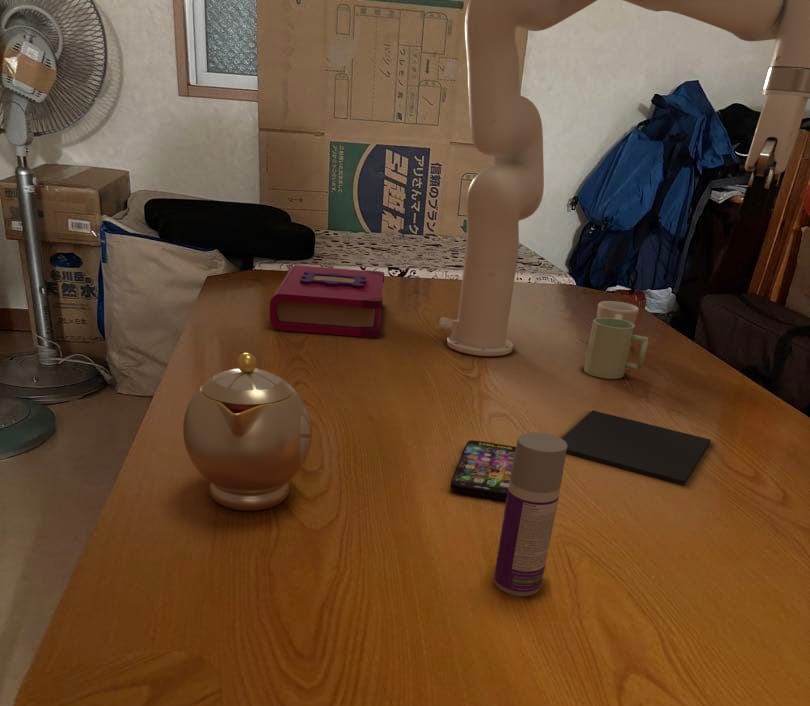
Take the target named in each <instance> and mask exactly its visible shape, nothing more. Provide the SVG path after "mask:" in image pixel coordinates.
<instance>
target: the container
mask: <svg viewBox="0 0 810 706" xmlns="http://www.w3.org/2000/svg"><path fill="white" fill-rule="evenodd" d="M561 438H562V437H561ZM561 438H560V437H559V436H556V435H554V434H551V433H545V432H537V431H535V432H532V431H531V432H526V433H522V434H520V435H519V436H518V437H517V440H516V445H515V447H516V450H515V455H514V460H513V466H512V471H511V476H510V481H509V486H508V492H507V498H506V500H505V506H504V512H503V518H502V524H501V531H500V535H499V543H498V549H497V554H496V555H497V556H496V562H495V568H494V575H493V584H494V585H495V587H496V588H497V589H499V590H500V591H502V592H504V593H506V594H508V595H512V596H516V597H529V596H533V595H536V594H537V593H538V592H539V591H540V590H541V587H542V583H543V578H544V573H545V569H546V563H547V558H548V554H549V549H550V543H551V538H552V533H553V529H554V524H555V519H556V514H557V508H558V503H559V497H560V493H561V487H562V481H563V475H564V470H565V469H564V468H565V463H566V457H567V453H566V451H567V443H566V442H565V441H564V440H563V439H561Z"/></svg>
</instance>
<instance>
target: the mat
mask: <svg viewBox="0 0 810 706" xmlns="http://www.w3.org/2000/svg"><path fill="white" fill-rule="evenodd" d="M561 439H563V440H564V441H565V442H566V443H567V451H566V454H568V455H570V456H575V457H578V458H582V459H586V460H588V461H589V460H590V461H594V462H598V463H601V464H605V465H609V466H612V467H615V468H619V469H622V470H626V471H630V472H633V473H638V474H641V475H645V476H648V477H652V478H655V479H659V480H663V481H667V482H670V483H674V484H677V485H681V486H685V485H686V483H687V482H688V480H689V478H690V477H691V475H692V473H693V472H694V470H695V468H696V467H697V465H698V463H699V461H700V460H701V458H702V457H703V455H704V454H705V452H706V451H707V448H708V446H709V445H710V444H711V441H712V440H711V439H710V438H706V437H702V436H698V435H694V434H690V433H686V432H682V431H678V430H675V429H670V428H665V427H661V426H657V425H653V424H650V423H647V422H646V423H645V422H641V421H638V420H633V419H630V418H625V417H621V416H617V415H613V414H609V413H605V412H601V411H597V410H591V411H590V412H589V413H588V414H587V415H585V417H583V418H582V419H581V420H580V421H579V422H578V423H577V424H576V425H574V427H572V428H571V429H570V430H569V431H567V433H566V434H564V435H563V437H561Z"/></svg>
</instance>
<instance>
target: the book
mask: <svg viewBox="0 0 810 706" xmlns="http://www.w3.org/2000/svg"><path fill="white" fill-rule="evenodd" d="M384 283H385V272H383V271H379V270H367V269H366V270H362V269H361V270H360V269H359V270H358V269H347V268H334V267H323V266H311V265H299V264H294V265H293V266H292V267H290V268H289V270H288V271H287V273H286V275H285V276H284V278H283V280H282V282H281V283H279V286H278V288H277V289H276V291H275V292H274V293H273V296H272V297H271V299H270V301H269V320H270V321H269V322H270V324H271V326H272V327H273V328H274V329H275V330H277V331H282V332H297V333H309V334H321V335H334V336H349V337H360V338H362V339H363V338H364V339H380V338H381V331H382V325H381V319H382V310H383V302H384V301H383V287H384Z"/></svg>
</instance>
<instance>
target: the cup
mask: <svg viewBox="0 0 810 706" xmlns="http://www.w3.org/2000/svg"><path fill="white" fill-rule="evenodd" d="M639 311H640V309H639V307H638V306H637V305H635V304H631V303H628V302H623V301H615V300H604V301H600V302H598V303H597V311H596V318H616V319H621V320H625V321H628V322H631V323H633V324H634V325H635V323H636V320H637V317H638V316H639Z"/></svg>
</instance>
